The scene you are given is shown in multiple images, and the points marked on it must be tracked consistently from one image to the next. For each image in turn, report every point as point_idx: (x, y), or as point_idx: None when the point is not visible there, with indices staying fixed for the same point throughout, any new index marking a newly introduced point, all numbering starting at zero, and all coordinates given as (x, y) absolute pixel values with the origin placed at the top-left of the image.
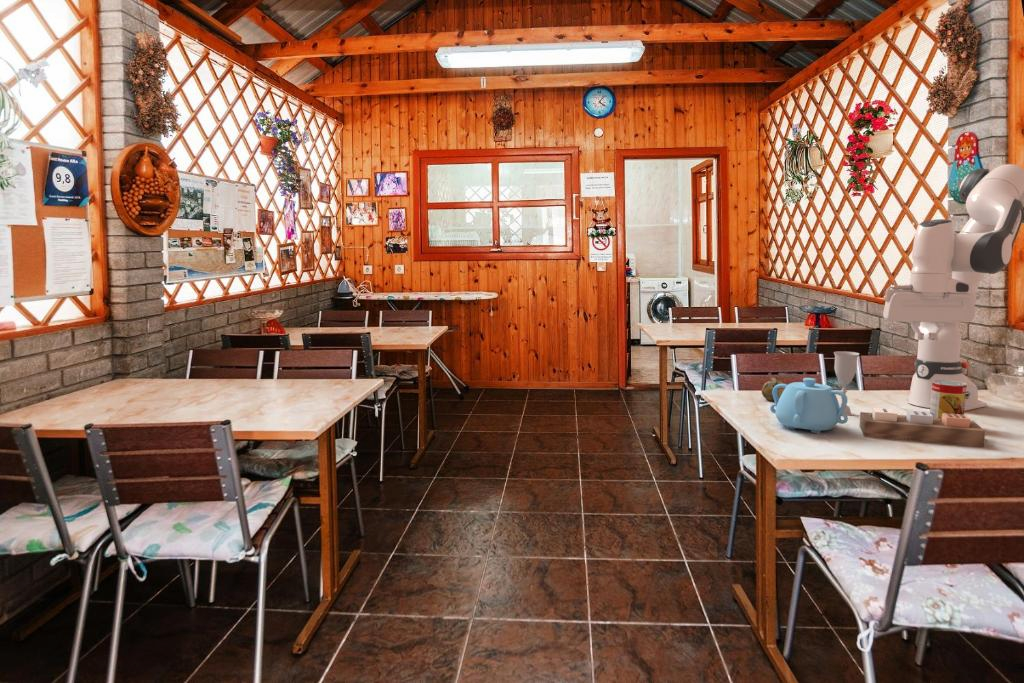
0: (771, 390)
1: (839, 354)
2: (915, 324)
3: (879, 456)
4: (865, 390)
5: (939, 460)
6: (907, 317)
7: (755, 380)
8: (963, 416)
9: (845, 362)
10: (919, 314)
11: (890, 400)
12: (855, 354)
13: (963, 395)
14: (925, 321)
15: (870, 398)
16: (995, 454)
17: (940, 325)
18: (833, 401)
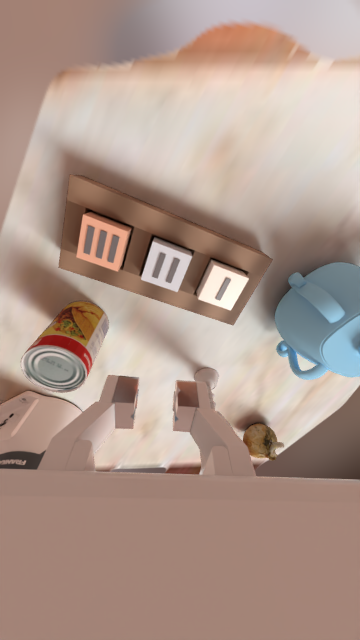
0: (272, 435)
1: None
2: (245, 459)
3: (340, 90)
4: (112, 467)
5: (234, 49)
6: (351, 517)
7: None
8: (89, 235)
9: None
10: (267, 558)
11: None
12: (201, 473)
13: (42, 335)
14: (191, 476)
15: (124, 439)
16: (83, 111)
17: (72, 448)
18: (333, 297)
